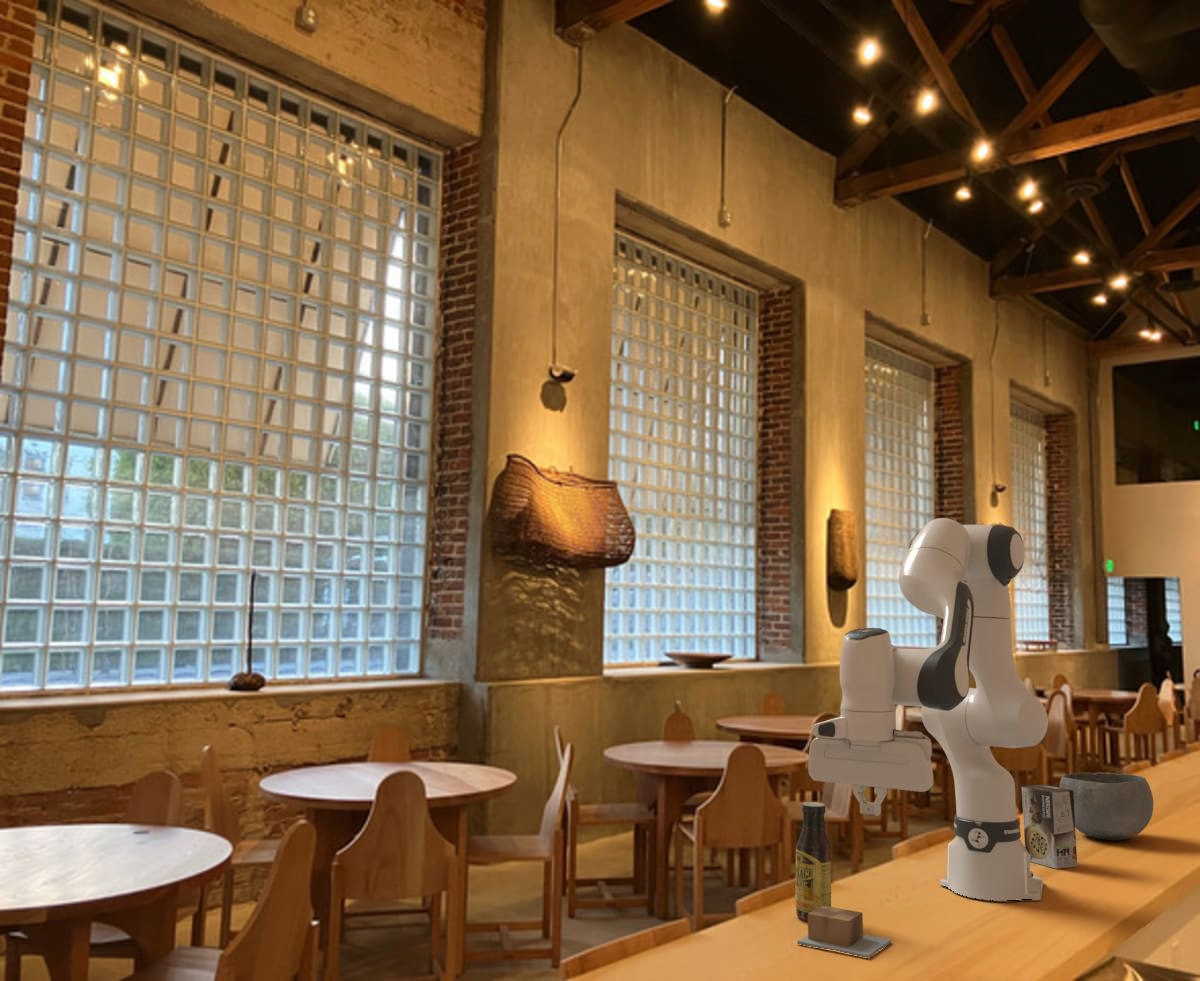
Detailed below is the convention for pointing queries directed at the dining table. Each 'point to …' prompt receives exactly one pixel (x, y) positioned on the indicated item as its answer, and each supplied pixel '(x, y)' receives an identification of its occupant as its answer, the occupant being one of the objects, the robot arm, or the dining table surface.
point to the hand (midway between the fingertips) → (870, 814)
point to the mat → (860, 948)
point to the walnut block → (835, 926)
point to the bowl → (1110, 804)
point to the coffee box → (1049, 825)
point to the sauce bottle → (812, 862)
